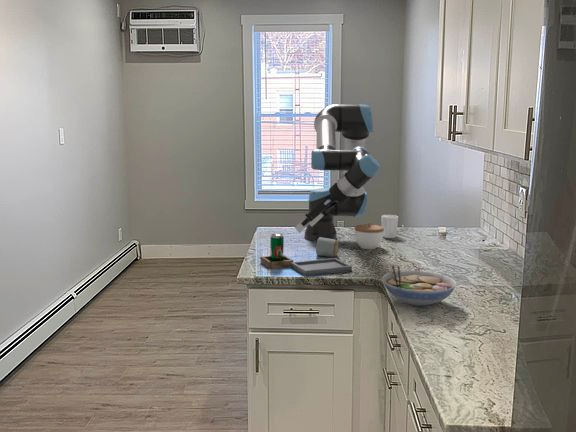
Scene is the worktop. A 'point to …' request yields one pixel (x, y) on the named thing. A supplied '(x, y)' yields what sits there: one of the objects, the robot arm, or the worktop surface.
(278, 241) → the soda can
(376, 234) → the lidded bowl
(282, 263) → the walnut collar
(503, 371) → the worktop surface
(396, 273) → the ramen bowl
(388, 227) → the white cup
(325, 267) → the grey tray
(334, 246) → the ceramic mug
